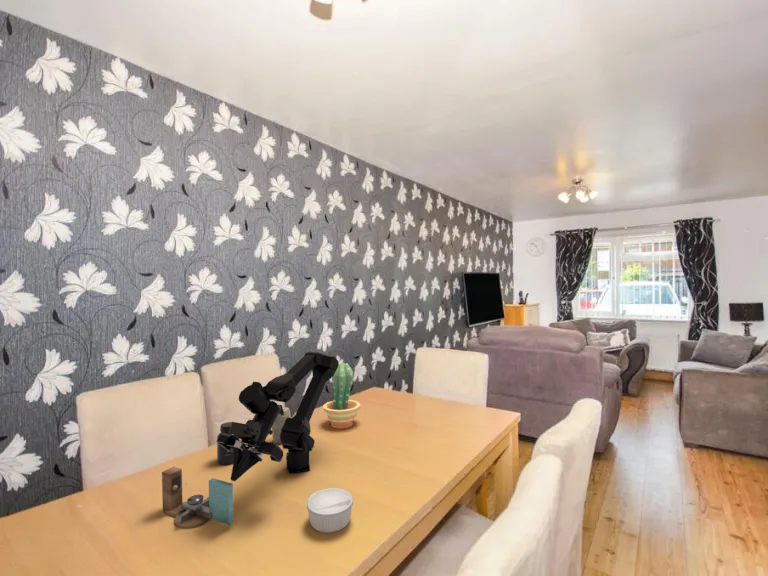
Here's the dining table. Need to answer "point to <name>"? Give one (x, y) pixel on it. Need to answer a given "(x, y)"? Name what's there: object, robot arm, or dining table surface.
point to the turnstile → (211, 503)
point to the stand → (177, 498)
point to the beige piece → (280, 425)
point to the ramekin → (330, 509)
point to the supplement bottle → (223, 454)
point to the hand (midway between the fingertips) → (232, 480)
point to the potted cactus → (342, 399)
